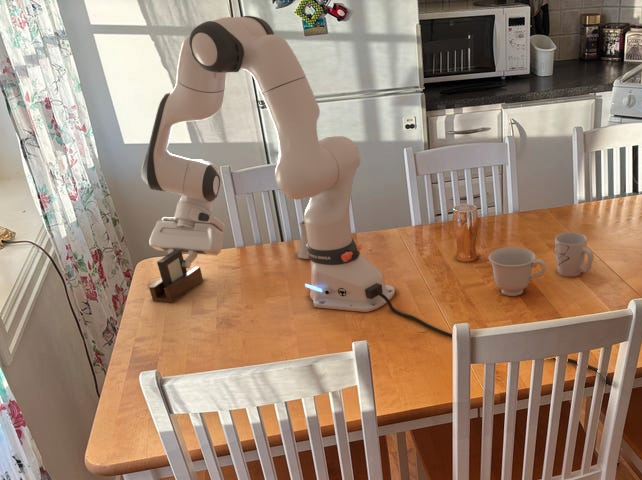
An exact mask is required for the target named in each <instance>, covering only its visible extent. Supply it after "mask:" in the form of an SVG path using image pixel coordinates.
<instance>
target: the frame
mask: <svg viewBox="0 0 642 480" xmlns="http://www.w3.org/2000/svg"><path fill="white" fill-rule="evenodd" d="M183 260H184V255H183V252H181V250H174V251H173V252H171V253H170V254H168V253H167V255H165V256H163V257H162V258H160V259H159V260H157V261H156V264H157V267H158V271H159V274H160V279H162V282H163V285H164V288H166V287H167V286H168V285H170V284H171V283H173V282H174V281H176V280H177V279H178V278H180V277H181V276H183V275H184V274H186V273H187V272H188V270H187V271H186V269H187V268H184V267H182V266H181V265H182V261H183Z"/></svg>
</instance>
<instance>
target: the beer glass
mask: <svg viewBox="0 0 642 480" xmlns="http://www.w3.org/2000/svg"><path fill="white" fill-rule="evenodd" d="M452 226H453V233H454V238H455V242H456V254H455V258H456V260H457V261H459V262H461V263H469V262H474V261H476V260H477V259H478V254H477V249H476V245H477V244H476V242H477V236H478V229H479V217H478V208H477V206H476V205H475V204H473V203H472V204H471V203H460V204H456V205H454V206H453V207H452Z"/></svg>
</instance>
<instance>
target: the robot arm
mask: <svg viewBox="0 0 642 480" xmlns="http://www.w3.org/2000/svg"><path fill="white" fill-rule="evenodd" d="M177 62H178V63H177V69H176V82H175V86H174V88H173V90H172V91H171V92H168V93H165V94H164V95H163V96H162V98H161V100H160V101H159V105H158V107H157V111H156V114H155V117H154V122H153V126H152V130H151V134H150V138H149V143H148V147H147V151H146V155H145V157H144V159H143V162H142V164H141V170H140V171H141V173H140V174H141V179H142V180H143V182H144V183H145V185H147V187H148V188H149V189H150V190H153V191H160V192H168V193H172V194H175V195H180V199H179V200H178V202H177V203H176V204H177V205H176V208H175V212H174V216H173V217H167V216H162V218H160V219H158V220H157V221H156V224H155V226H154V227H153V230H152V232H151V234H150V237H149V240H148V244H149V246H150V247H151V248H152V249H155V250H156V251H163V252H167V255H168V254H170V253H171V252H173V251H174V250H181V252H182V253H184V254H185V253H186V254H188V256H187V257H186V258H185V259H183V261H182V265H181V266H182V267H184V268H186V269H191V265H192V263H193V262H194V261H195V260H196V259H197V257H198V255H206V256H218V255H219V254H220V253H221V252H222V250H223V244H224V237H225V236H224V231H225V229H226V225H225V224H224V223H223V222H222V221H221V220H219V218H217V217H215V216H214V215H212V213H213V211H212V207H213V204H214V202H215V201H216V198H218V195H219V191H220V187H221V177H220V171H219V167H217V166H216V165H215V164H214V163H212V162H211V161H208V160H205V159H191V158H187V157H183V156H180V155H176V154H172V152H171V153H170V151H169V150H168V147H169V144H170V138H171V135H172V131H173V127H174V125H176V124H180V123H186V122H197V121H204V120H207V119H209V118H213V117H214V116H216V115H217V114H218V113H219V112H220V111H221V110H222V107H223V105H224V100H225V96H226V95H225V94H226V84H227V74H228V73H239V72H240V70H241V71H242V70H244V71H246V72H248V73H249V74H251V76H252V77H253V79H254V81H255V83H256V85H257V88H258V91H259V92H260V95H261V97H262V99H263V101H264V104H265V105H266V108H267V111H268V113H269V115H270V117H271V120H272V122H273V125H274V128H275V131H276V136H277V143H278V160H277V164H276V166H275V170H274V177H275V181H276V182H275V183H276V184H277V186H278V188H279V190H280V191H281V192H282V193H283V194H284V196H286V197H287V198H289V199H292V200H304V199H309V202H308V204H307V206H306V208H305V210H304V215H303V221H305V227H306V233H307V240H308V243H307V252H308V258H309V259H308V260H309V262H310V275H311V276H310V277H311V278H310V284H308V283H304V286H305V288H309V289H310V291H309V298H310V299H311V300H312V301H313V307H314V308H319V309H329V310H330V309H331V310H340V311H349V312H350V311H351V312H361V313H369V312H372V311H375V310H377V309H379V308H381V307H383V306H384V305H386V304H387V306H388V308H389V309H390V310H391V311H392V312H393V313H395V314H396V315H398V316H400V317H403V318H406V319H410V320H412V321H414V322H416V323H418V324H420V325H422V326H424V327H425V328H427V329H430V330H432V331H434V332H436V333H438V334H441V335H444V336H447V337H449V338H452V334H453V333H450V332H447V331H445V330H442V329H440V328H437V327H435V326H433V325H430V324H429V323H427V322H425V321H423V320H421V319H420V318H417V317H415V316H413V315H411V314H406V313H403V312H401V311H399V310H397V309H396V308H395V307H394V306H393V304H392V302H391V299H392V298H393V297H394V296H395V293H396V289H395V287H394V286H392V285H389V284H386V280H385V278H384V274H383V272H382V271H381V270H380V269H379V268H378V267H376V266H375V265H374V264H372V262H370V261H369V260H368V259H367V258H365V257H364V256H363V255H362V254H361V252H360V250H362V249H363V247H362V245H363V244H362V243H360V244H359V245H357V243H356V242H355V239H353V236H352V226H351V217H350V205H351V197H352V196H351V195H352V188H353V183H354V179H355V176H356V174H357V171H358V170H359V167H360V164H361V153H360V150H359V148H358V147H357V145H356V144H355V142H354V141H353V140H352V139H351V138H349V137H346V136H343V135H337V136H327V137H324V138H322V139H320V140H319V137H318V128H317V124H318V120H319V117H320V114H321V113H320V111H321V109H320V106H319V103H318V102H317V99H316V97H315V95H314V92H313V89H312V87H311V85H310V83H309V79H308V78H307V76H306V74H305V71H304V69H303V67H302V65H301V64H300V61H299V59H298V57H297V55H296V54H295V52H294V51H293V49H292V48H291V46H290V45H289V43H288V41H287V40H286V39H285V38H284V37H282V36H280V35H278V34H275V33H274V31H273V28H272V27H271V25H270V24H269V23H268V22H267V21H265V20H264V19H263V18H260V17H258V16H254V15H244V16H225V17H220V18H216V19H214V20H206V21H204V22H201V23H200V24H198V25H197V26H196V27H194V28H193V30H192V31H191V33H190V35H188V36H187V37H185V38H184V40H183V42H182V44H181V48H180V52H179V57H178V61H177ZM552 360H555V361H557V360H556V359H555V358H553V359H552ZM577 361H578V360H576V359H572V358H568V362H567V363H570V364H573V365H577ZM587 365H588V370H590V371H592V372H595V373H597V370H598V369H599V368H598V367H595V366H593V365H590V364H587ZM605 383H606V384H607V386H608V387H611V386H613V384H612V381H611V380H610V379H609V377H608V375H606V381H605Z"/></svg>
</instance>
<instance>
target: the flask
mask: <svg viewBox="0 0 642 480" xmlns="http://www.w3.org/2000/svg"><path fill="white" fill-rule="evenodd" d="M299 226H300V232H301V233H300V234H301V235H300V241H299V247H298V253H297V258H299V259H303V260H310V259H309V258H308V252H307V243H308V240H307V233H306V227H305V221H304V220H302V221H300V222H299Z"/></svg>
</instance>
